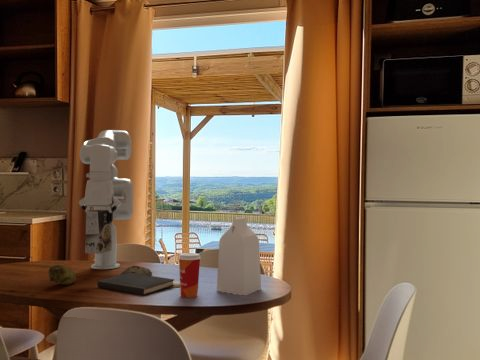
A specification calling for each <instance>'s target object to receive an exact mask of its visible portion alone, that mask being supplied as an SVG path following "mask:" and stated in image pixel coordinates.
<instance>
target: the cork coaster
mask: <svg viewBox="0 0 480 360" xmlns="http://www.w3.org/2000/svg"><path fill="white" fill-rule="evenodd" d="M173 285H174V286H171V287H170V288H175V289H176V288H180V281H173Z"/></svg>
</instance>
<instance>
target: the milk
mask: <svg viewBox="0 0 480 360" xmlns="http://www.w3.org/2000/svg"><path fill="white" fill-rule="evenodd" d="M232 220H233V221H232V224H231V227H229V229H227V230H226V231H225V233H223V234H222V235H221V237H220V238H219V241H218V242H219V243H218V259H217V273H216V275H217V277H216V292H217V291H222V292H221V293H224V292H227V293H226V294H230V293H233V294H232V295H236V294H239V295H238V296H242V295H245V296H247V295H249V293H250V294H252V292H253V293H255V292H258V291H260V290H261V289H262V277H261V275H262V274H261V255H260V254H261V253H260V239H259V236H258V235H257V234H256V233H255V232H254V231H253V230H252V229H251V228H250V226H248V224H247V218H246V217H235V218H233V219H232ZM257 290H258V291H257Z"/></svg>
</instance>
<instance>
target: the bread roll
mask: <svg viewBox="0 0 480 360" xmlns="http://www.w3.org/2000/svg"><path fill="white" fill-rule="evenodd" d="M127 273H134V274H141V275H148V276H153V272H152V271H151V269H149V268H147V267H144V266H141V265H139V266H138V265H131V266H130V267H129V266H128V267H127V268H126V269H124V270H123V271H122V272H121V273H120V274H119V275H123V274H127Z"/></svg>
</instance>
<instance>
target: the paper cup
mask: <svg viewBox="0 0 480 360" xmlns="http://www.w3.org/2000/svg"><path fill="white" fill-rule="evenodd" d="M177 259H178V261H179V262H178V263H179V282H180V287H179V289H180V290H179V291H180V297H181V296H182V298H185V297H186V299H187V298H188V299H190V298H189V297H192V298H195V297H198V292H199V278H200V262H201V259H202V257H201V255H200V253H197V252H196V253H195V252H185V253H179V255H178V258H177Z"/></svg>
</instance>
